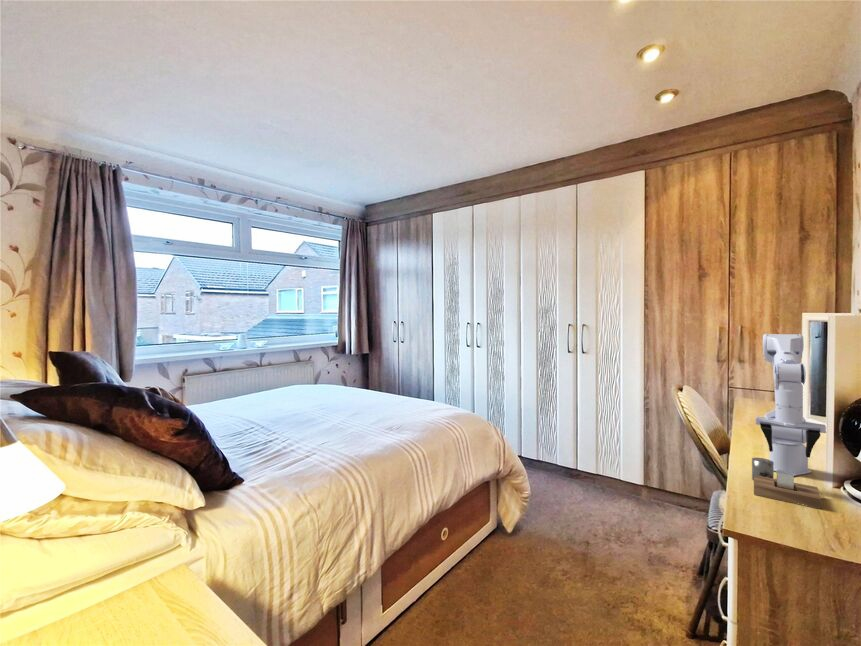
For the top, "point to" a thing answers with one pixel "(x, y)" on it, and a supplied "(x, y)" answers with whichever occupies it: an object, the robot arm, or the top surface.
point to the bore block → (787, 492)
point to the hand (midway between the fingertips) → (788, 453)
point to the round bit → (762, 468)
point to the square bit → (785, 480)
